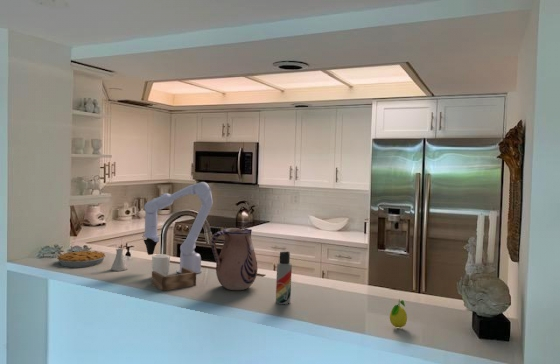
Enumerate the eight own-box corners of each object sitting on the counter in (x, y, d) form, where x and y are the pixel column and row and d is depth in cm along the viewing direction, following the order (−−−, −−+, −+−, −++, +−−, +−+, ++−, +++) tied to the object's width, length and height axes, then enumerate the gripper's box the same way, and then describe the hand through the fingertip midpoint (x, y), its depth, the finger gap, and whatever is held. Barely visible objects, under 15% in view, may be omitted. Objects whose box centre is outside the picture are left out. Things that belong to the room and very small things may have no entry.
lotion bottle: (279, 305, 163) (281, 253, 162) (273, 301, 168) (275, 250, 167) (293, 303, 166) (294, 252, 165) (286, 299, 171) (287, 249, 170)
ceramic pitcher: (265, 288, 185) (267, 230, 184) (227, 298, 169) (229, 235, 168) (238, 280, 197) (240, 225, 196) (200, 288, 181) (202, 229, 180)
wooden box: (183, 279, 195) (184, 267, 194) (195, 285, 186) (196, 272, 186) (151, 284, 185) (152, 271, 185) (162, 290, 176) (163, 277, 176)
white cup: (158, 280, 191) (159, 258, 190) (147, 277, 195) (148, 255, 195) (173, 277, 197) (173, 255, 197) (162, 274, 202) (162, 253, 201)
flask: (130, 269, 209) (130, 248, 209) (117, 272, 203) (118, 251, 203) (120, 267, 213) (121, 247, 213) (107, 269, 207) (108, 249, 207)
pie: (114, 261, 225) (114, 252, 225) (80, 270, 205) (80, 259, 205) (83, 256, 233) (83, 247, 233) (47, 264, 213) (47, 254, 213)
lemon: (403, 325, 147) (405, 296, 147) (411, 331, 141) (412, 301, 141) (385, 325, 146) (386, 296, 146) (391, 332, 140) (392, 301, 140)
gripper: (137, 224, 208) (136, 252, 208) (149, 228, 196) (148, 258, 197) (151, 223, 212) (150, 251, 213) (163, 227, 201) (162, 256, 201)
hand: (150, 254), depth 205 cm, fingers closed
